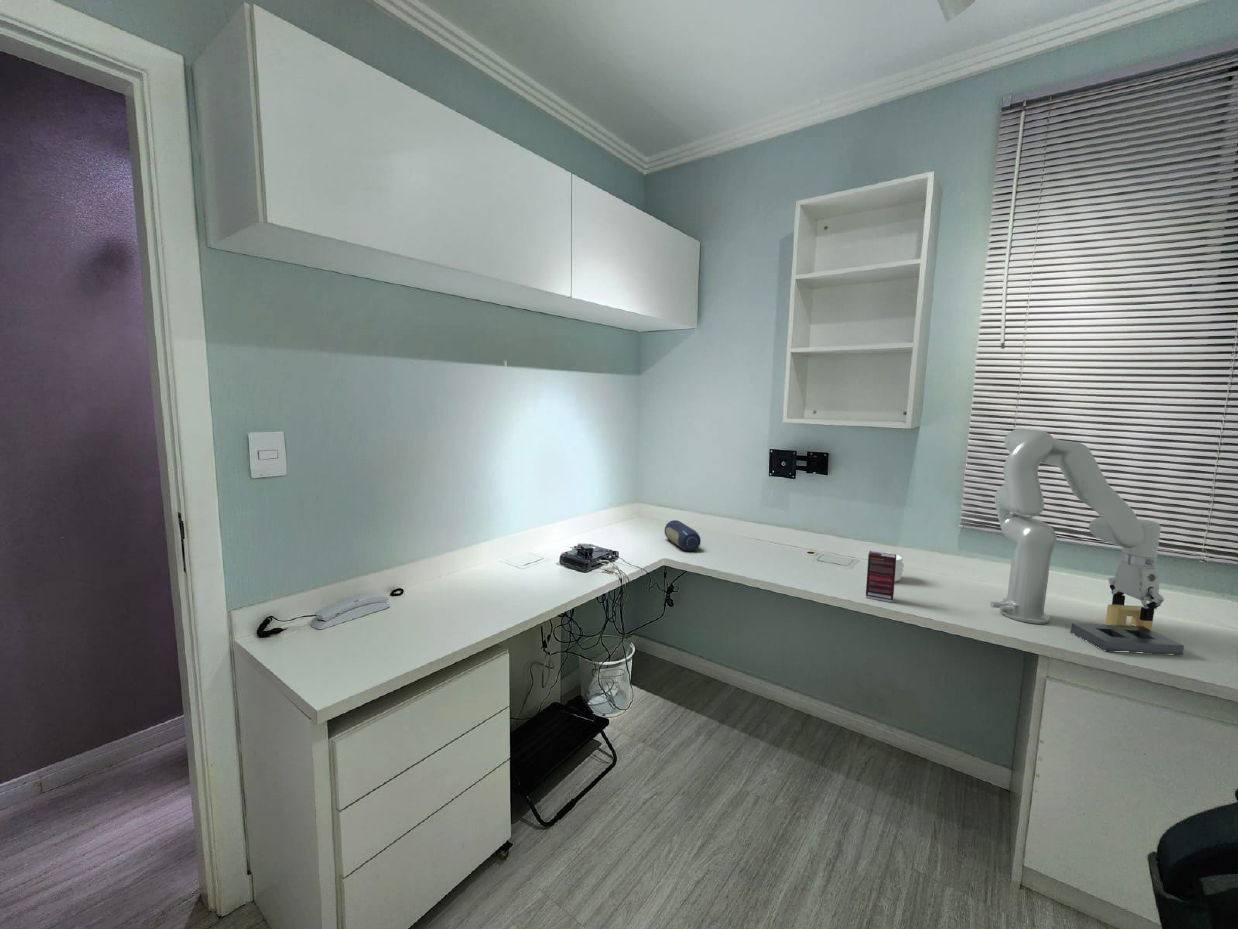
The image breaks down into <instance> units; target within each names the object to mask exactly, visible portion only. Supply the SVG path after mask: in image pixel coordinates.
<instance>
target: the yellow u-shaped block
mask: <svg viewBox="0 0 1238 929" xmlns="http://www.w3.org/2000/svg"><path fill="white" fill-rule="evenodd" d="M1141 607H1143V605H1129V604H1128V605H1127V604H1124V605H1112V604H1107V607H1106V614H1105V622H1104V623H1105V624H1107V623H1109V624H1110V625H1124V626H1127V618H1128V617H1131V622H1130V624H1131V623H1132V624H1134V625H1136V626H1144V627H1146V628H1148V629H1151V630H1152V629H1153V622H1154V620H1153V621H1142V620H1140V613H1141ZM1154 616H1155V615H1154ZM1154 616H1153V618H1154ZM1109 624H1108V625H1109ZM1132 624H1131V625H1132ZM1134 625H1133V626H1134Z"/></svg>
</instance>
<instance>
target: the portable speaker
mask: <svg viewBox="0 0 1238 929" xmlns="http://www.w3.org/2000/svg"><path fill="white" fill-rule="evenodd" d="M664 535H665V537H666V539H668V540H669V541H671V542H672V543H673V544H675V545H676V546H678V547H679V548H681V549H682V550H684V551H686V552H693V551H695V550H697V549H698V548H699V547H700V545H701V541H702V540H701V537H700V534H699V533H698V532H697V531H696V530H695V529H694V528H692V527H690V526H688V525H687V524H685V523H683V522H682V521H679V520H676V519H674V520H670V521H668V522H667V523H666V524H665V527H664Z"/></svg>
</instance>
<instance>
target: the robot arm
mask: <svg viewBox="0 0 1238 929" xmlns="http://www.w3.org/2000/svg"><path fill="white" fill-rule="evenodd" d="M1004 446H1005V449H1006V450H1007V451H1008V452H1010V453H1009V454H1008V455H1007V457H1006V459H1005V461H1004V465H1003V470H1002V471H1003V472H1002V473H1003V479H1004V484H1003V485H1001V486H999V487H998V489H997V490H996V491H995V495H994V504H995V510H996V512H997V513H996V514H997V518H998V522H999V526H1000V529H1001V532H1002V533H1003V535H1004V536H1005V537H1006V538H1007V539H1008V540H1009V541H1011V542H1013V543H1016V546H1015V547H1016V548H1015V549H1014V551H1013V554H1012V555H1011V556H1012V557H1011V561H1010V569H1009V570H1010V572H1009V579H1008V588H1007V595H1006V596H1007V597H1006V598H1003V600H1001V601H990V605H989V606H990V608H992V609H993V608H994V609H995V608H997V609H999V612H1000V614H1002V616H1006V617H1008V618H1009V619H1013V620H1015V621H1019V622H1023V623H1028V624H1034V625H1045V624H1048V623H1050V617H1049V616H1048V615H1047V614H1046V613H1044V612H1045V606H1046V597H1047V589H1048V583H1049V575H1050V574H1049V573H1050V566H1051V562H1052V557H1053V556H1052V555H1053V553H1054V550H1055V548H1056V544H1057V533H1056V531H1055V529H1054V528H1053V527H1052V526H1051V525H1049V524H1048V523H1046V522H1044V521H1043V520H1040V519H1038V518H1034V517H1038V516H1039V515H1040V514H1041V513H1042V512H1043V510H1044V508H1045V501H1044V500H1045V499H1044V496H1043V491H1042V488H1041V483H1040V479H1039V471H1038V470H1039V466H1040V464H1041V463H1042V464H1045V465H1049V466H1053V467H1057V468H1059V469H1060V471H1061V473H1062V475H1063V476H1064V478H1065V481H1066V482H1067V484H1068V486H1069V488H1070V490H1071V492H1072V493H1073V495H1074V496H1075V497H1076V498H1077V499H1078V500H1079V501H1081V502H1082V503H1084V504H1085V505H1087V506H1088V507H1090V508H1091V509H1092V510H1094V511H1095V513H1097V515H1099V517H1096V518H1093V520H1091V521H1090V523H1089V525H1088V529H1089V531H1090V532H1089V533H1091V534H1092V535H1093V536H1094V537H1095V538H1097V539H1098V540H1101V541H1104V542H1107V543H1109V544H1112V545H1115V546H1118V547H1120V548H1122V549H1121V557H1120V558H1121V559H1120V561H1119V563H1118V566H1117V569H1116V573H1115V577H1114V576H1113V577H1109V578H1108V579H1107V580H1108V583H1109V588H1110V590H1111V592H1110V594H1112V600H1111V605H1125V602H1126V595H1127V596H1129V597H1132V598H1134V599H1137V600H1139V601H1140V602H1141V604H1142V605H1141V606H1143V607H1141V613H1140V620H1142V621H1153V622H1154V617H1153V616H1155V610H1157V608H1158V607H1161V604H1162V603H1163V602H1164V601H1165V598H1164V597H1163V596H1162V595H1161V593H1159V592H1160V575H1159V574H1160V573H1159V569H1158V568H1157V565H1158V563H1157V561H1158V560H1157V558H1158V551H1159V544H1160V536H1161V524H1159V523H1158V522H1156V521H1153V520H1148V519H1141V518H1138V517H1137V515H1136V514H1135V512H1134V511H1133V509H1132V507H1130V505H1129V504H1128V503H1127V502H1126V501H1125V500H1124V499H1123V498H1122V497H1121V496H1120V495H1119V493H1118V492H1117V491H1115V489H1114V488H1112V487H1111V486H1110V484H1109V483H1108V481H1107V479H1106V478H1105V475H1104V474H1103V472H1102V470H1101V468H1100V466H1099V465H1098V463H1097V461H1096V459H1095V456H1094V455H1093V453H1092V451H1091V449H1090V448H1089V447H1088V446H1087V445H1086V444H1083V443H1081V442H1079V441H1078V442H1077V441H1072V440H1071V441H1070V440H1062V439H1058V438H1054V437H1053V436H1052V435H1051V433H1049V432H1046V431H1044V430H1042V429H1041V430H1040V429H1031V428H1018V429H1017V428H1016V429H1013V430H1011V431H1010V432H1008V433H1007V434H1006V435H1005V438H1004Z"/></svg>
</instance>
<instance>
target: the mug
mask: <svg viewBox="0 0 1238 929" xmlns="http://www.w3.org/2000/svg"><path fill="white" fill-rule="evenodd" d="M888 553H889V554H892V553H890V552H888ZM904 566H905V564H904V563H903V557H902V556H900V555H898V554H896V569H895V582H894V583H896V582H899V581H900V580H901V579H902V574H903V572H904Z"/></svg>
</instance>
